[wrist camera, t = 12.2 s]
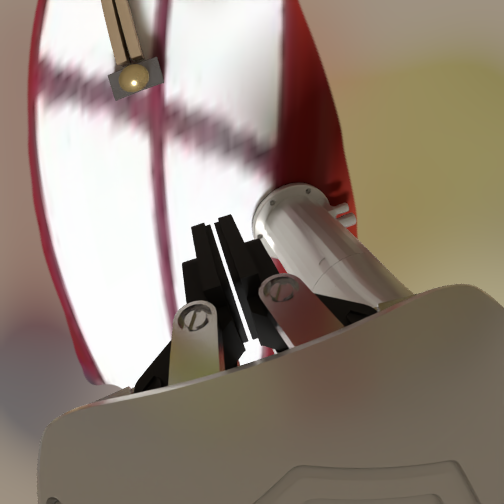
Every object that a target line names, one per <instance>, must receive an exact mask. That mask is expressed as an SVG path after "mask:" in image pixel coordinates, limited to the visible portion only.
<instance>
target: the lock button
mask: <svg viewBox="0 0 504 504" xmlns="http://www.w3.org/2000/svg"><path fill="white" fill-rule="evenodd" d="M148 81H149V72H148V70H147V69H146V68H145V67H143V66H142V65H139V64H132V65H129V66H127V67H125V68H124V69H123V70H122V72H121V73H120V76H119V84H120V86H121V88H122V89H123V90H125V91H127V92H137V91H139V90H141V89H143V88H144V87H145V86H146V85H147V83H148Z"/></svg>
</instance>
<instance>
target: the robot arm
mask: <svg viewBox="0 0 504 504" xmlns="http://www.w3.org/2000/svg"><path fill="white" fill-rule="evenodd" d="M347 211H349V207H348V204H347V203H342V204H339V205H337V206H334V207H333V206H330V204H329V201H328V199H327V198H326V196H325V195H324V194H323V193H322V192H321V191H320V190H319V189H317V188H316V187H314V186H312V185H309V184H306V183H291V184H288V185H284V186H282V187H280V188H278V189H276V190H274V191H273V192H272V193H270V194H269V195H268V196H267V197H266V198H265V199H264V200H263V201H262V203H261V204H260V205H259V207H258V209H257V211H256V213H255V215H254V219H253V225H252V231H253V237H254V240H251V241H248V242H245V243H244V241H243V239H242V237H241V235H240V232H239V230H238V228H237V226H236V224H235V222H234V220H233V217H232V215H231V214H230V215H227V216H224V217H220V218H218V220H219V222H216V223H214V224H215V228H216V231H217V234H218V237H219V240H220V244H221V247H222V250H223V253H224V256H225V259H226V263H227V266H228V269H229V272H230V275H231V278H232V281H233V284H234V287H235V290H236V293H237V296H238V299H239V302H240V304H241V307H242V310H243V313H244V316H245V319H246V322H247V325H248V327H249V330H250V333H251V336H252V339H256V338H258V339H259V341H260V344H261V346H262V345H263V346H266V347H269V348H272V349H273V351H274V355H271V356H268V357H265V358H263V359H260V360H257V361H254V362H251V363H247V364H244V365H241V366H240V363H239V358H240V357H241V355H242V354H243V352H244V351H246V350H245V347H244V344H243V343H244V342H247V341H248V339H247V336H246V333H245V330H244V327H243V324H242V321H241V318H240V315H239V312H238V309H237V306H236V303H235V300H234V296H233V293H232V290H231V287H230V284H229V281H228V278H227V275H226V272H225V269H224V266H223V263H222V260H221V257H220V254H219V251H218V248H217V245H216V241H215V238H214V235H213V232H212V229H211V226H210V225H207V226H205V224H204V223H202V224H199V225H196V226H193V227H191V229H192V235H193V241H194V246H195V252H196V257H197V258H195V259H192V260H189V261H186V262H183V263H182V269H183V278H184V286H185V294H186V302H187V304H186V305H184V306H183V307H182V308H181V309H179V310H178V312H177V313H176V315H175V317H174V320H173V329H172V340H171V341H170V342H169V343H168V345H167V346H166V347H165V348H164V349H163V351H162V352H161V353H160V354H159V355H158V357H157V358H156V359H155V360H154V361H153V363H152V364H151V365H150V366H149V367H148V369H147V370H146V371H145V372H144V374H143V375H142V376H141V377H140V378H139V380H138V381H137V383H136V385H135V387H134V388H132V389H131V388H130V387H126V388H124V389H122V390H120V391H117V392H115V393H113V394H111V395H108V396H106V397H104V398H101V399H99V400H96V401H95V402H92V403H89V404H87V405H83V406H80V407H77V408H75V409H72V410H70V411H68V412H66V413H64V414H62V415H61V416H59V417H57V418H56V419H54V420H53V421H52V422H51V423H50V424H49V425H48V426H47V427H46V429H45V430H44V432H43V435H42V438H41V441H40V446H39V453H38V464H37V494H38V504H504V308H503V307H502V306H501V305H500V304H499V303H498V302H497V301H496V300H495V299H494V298H492V297H491V296H490V295H489V294H487V293H486V292H484V291H483V290H482V289H480V288H478V287H475V286H472V285H467V284H455V285H447V286H442V287H438V288H434V289H431V290H428V291H425V292H423V293H419V294H413V293H412V292H411V291H410V290H408V288H406V287H405V286H404V285H403V284H402V283H401V282H400V281H399V280H398V279H397V278H396V277H395V276H394V275H393V274H392V273H391V272H390V271H389V270H388V269H386V267H385V266H384V265H383V264H382V263H380V261H379V260H378V259H377V258H376V257H375V256H374V255H373V254H372V253H371V252H370V251H369V250H368V249H367V248H366V247H364V245H363V244H362V243H361V242H360V241H359V240H358V239H357V238H356V237H355V236H353V235H352V234H351V233H350V232H349V231H348V230H347V229H346V228H345V227H349V226H351V225H354V224H356V218H355V215H354V214H353V213H348V214H346V215H343V216H341V217H339V218H336V215H337V214H340V213H344V212H347ZM270 257H273V258H277V259H279V260H280V262H281V263H282V265H283V266H284V268H285V270H286V271H287V273H288V274H286V273H282V274H279V272H278V270H277V268H276V267H275V265H274V263H273V261H272V259H271V258H270Z"/></svg>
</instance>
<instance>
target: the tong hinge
mask: <svg viewBox="0 0 504 504" xmlns="http://www.w3.org/2000/svg"><path fill="white" fill-rule="evenodd" d="M137 64H139V65H142V66H143V67H145V68H146V69H147V70H148V72H149V81H148V83H147V85H146V86H145V87H144V88H143V89H141V90H139V91H142V90H144V89H147V88H150V87H153V86H156V85H158V84H161V83H164V80H163V76H162V73H161V69H160V66H159V62H158V59H157V57H155V58H152V59H149V60H146V61H143V62H140V63H137ZM122 70H123V69H122ZM122 70H119V71H117V72H115V73H112V74H110V75H108V78H109V81H110V85H111V88H112V91H113V94H114V97H115V100H116V101H117V100H119V99H121V98H124V97H126V96H129V95H131V94H134V93H136V92H127V91H125V90H123V89H122V88H121V86H120V84H119V76H120V73H121V72H122ZM139 91H137V92H139Z"/></svg>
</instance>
